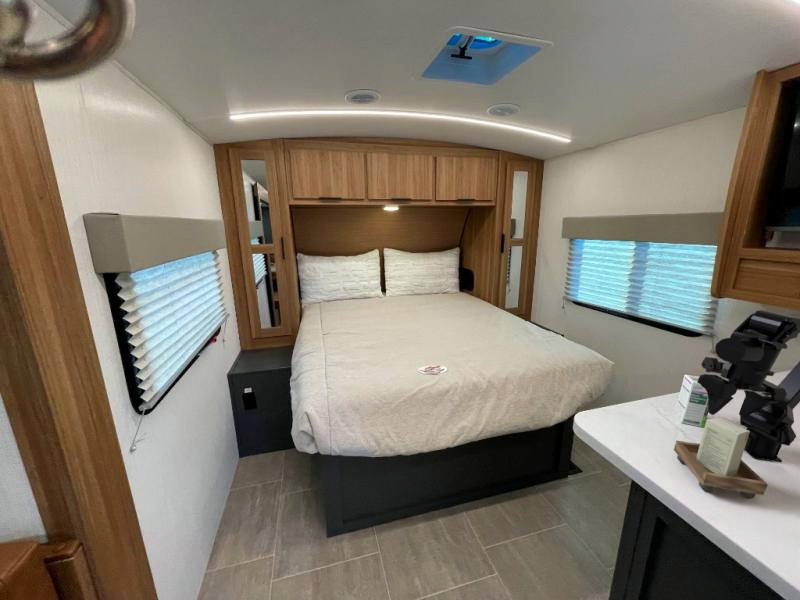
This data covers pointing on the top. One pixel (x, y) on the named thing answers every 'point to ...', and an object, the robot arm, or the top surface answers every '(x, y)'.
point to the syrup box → (692, 402)
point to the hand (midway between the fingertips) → (726, 415)
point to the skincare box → (722, 446)
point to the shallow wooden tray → (742, 481)
